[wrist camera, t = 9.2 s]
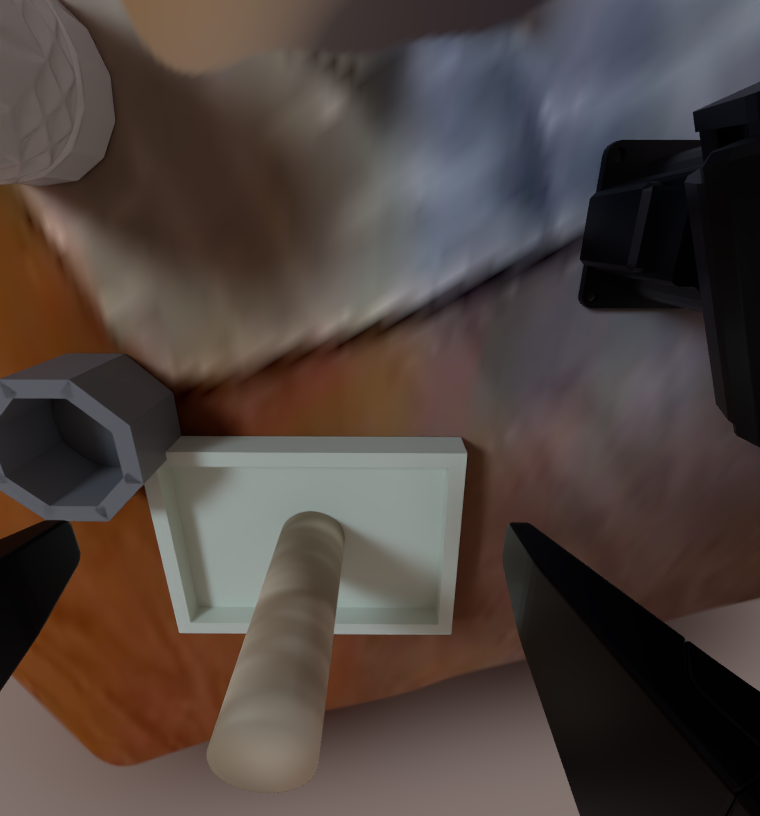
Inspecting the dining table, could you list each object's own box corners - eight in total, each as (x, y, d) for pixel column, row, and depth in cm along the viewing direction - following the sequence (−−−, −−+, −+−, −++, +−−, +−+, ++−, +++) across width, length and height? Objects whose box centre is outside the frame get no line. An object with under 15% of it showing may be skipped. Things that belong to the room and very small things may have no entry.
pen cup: (165, 354, 21) (118, 380, 17) (189, 475, 23) (152, 521, 20) (25, 353, 21) (-52, 379, 17) (64, 475, 23) (4, 520, 20)
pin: (343, 511, 23) (314, 724, 13) (345, 563, 25) (320, 793, 15) (277, 510, 23) (198, 724, 13) (283, 563, 25) (215, 792, 15)
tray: (461, 437, 22) (467, 453, 21) (446, 609, 27) (451, 634, 25) (154, 435, 22) (136, 452, 21) (191, 608, 27) (179, 633, 25)
